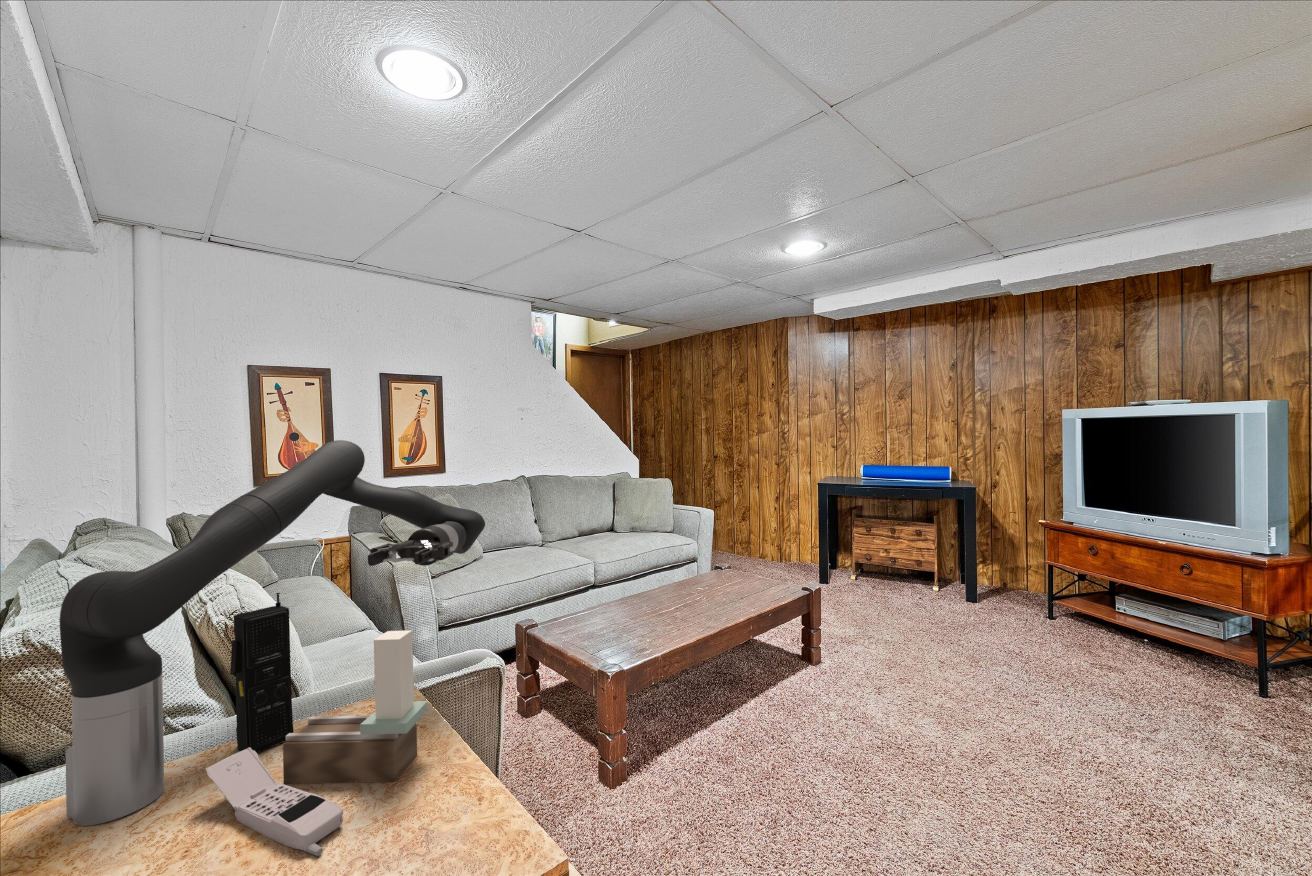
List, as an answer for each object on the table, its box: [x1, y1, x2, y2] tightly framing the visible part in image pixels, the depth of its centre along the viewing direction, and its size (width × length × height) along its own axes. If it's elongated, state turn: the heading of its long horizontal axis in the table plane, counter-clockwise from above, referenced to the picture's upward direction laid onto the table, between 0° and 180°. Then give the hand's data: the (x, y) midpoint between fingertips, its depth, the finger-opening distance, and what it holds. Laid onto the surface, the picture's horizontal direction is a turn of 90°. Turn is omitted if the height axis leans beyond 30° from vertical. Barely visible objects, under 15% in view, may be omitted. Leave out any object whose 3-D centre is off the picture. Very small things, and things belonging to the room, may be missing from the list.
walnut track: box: [282, 714, 418, 785], centre depth 83 cm, size 17×7×7 cm, turn 88°
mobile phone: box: [205, 747, 344, 857], centre depth 72 cm, size 6×6×25 cm
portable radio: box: [229, 592, 294, 754], centre depth 91 cm, size 8×6×25 cm
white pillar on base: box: [360, 629, 429, 734], centre depth 83 cm, size 7×7×14 cm
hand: (393, 559), depth 96 cm, fingers open, 8 cm apart
